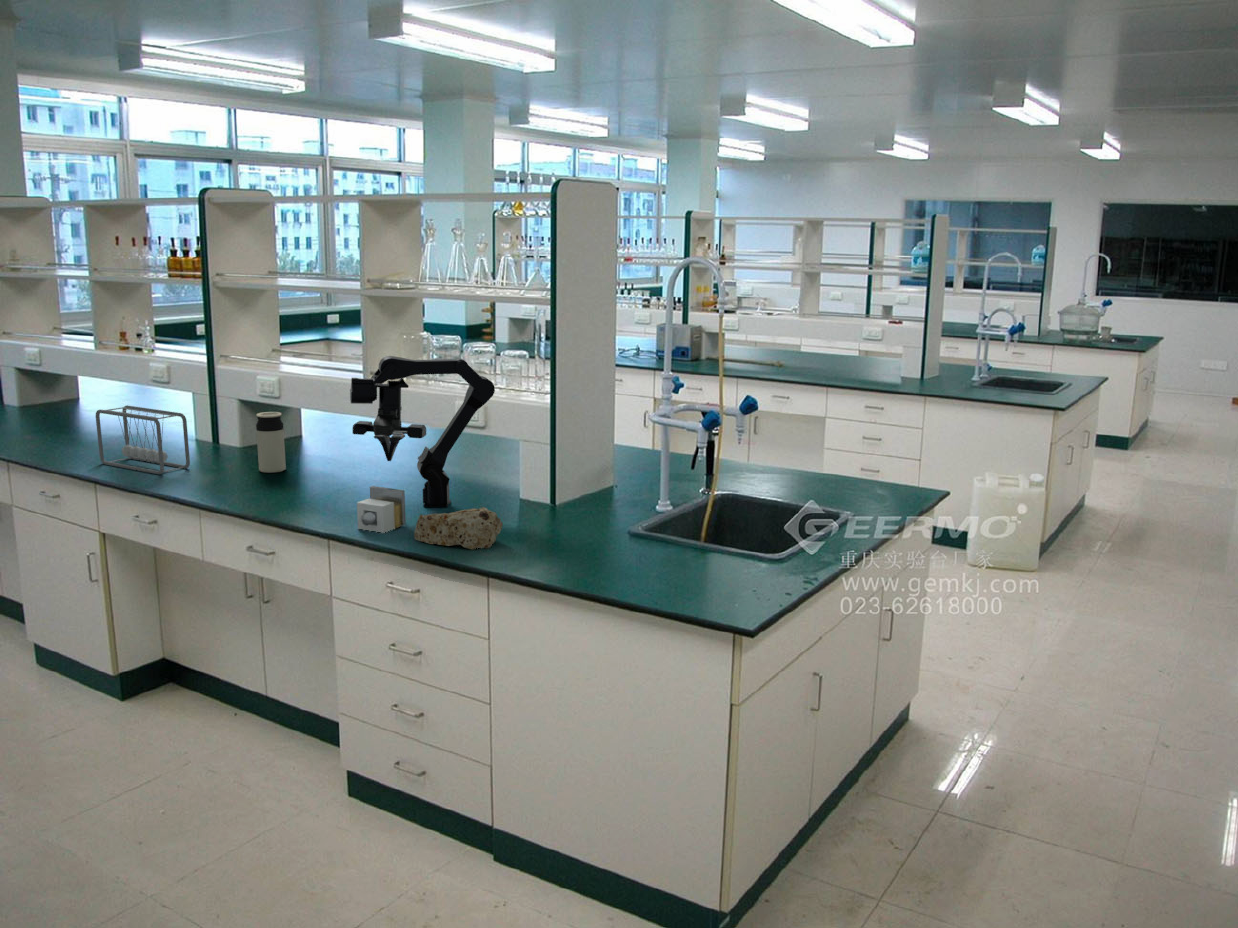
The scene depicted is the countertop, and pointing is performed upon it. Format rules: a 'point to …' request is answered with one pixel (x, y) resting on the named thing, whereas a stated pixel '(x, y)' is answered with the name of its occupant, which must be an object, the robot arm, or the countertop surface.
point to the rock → (459, 528)
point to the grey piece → (385, 495)
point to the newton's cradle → (135, 451)
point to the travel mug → (270, 442)
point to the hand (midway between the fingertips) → (389, 460)
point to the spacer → (397, 515)
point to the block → (383, 515)
